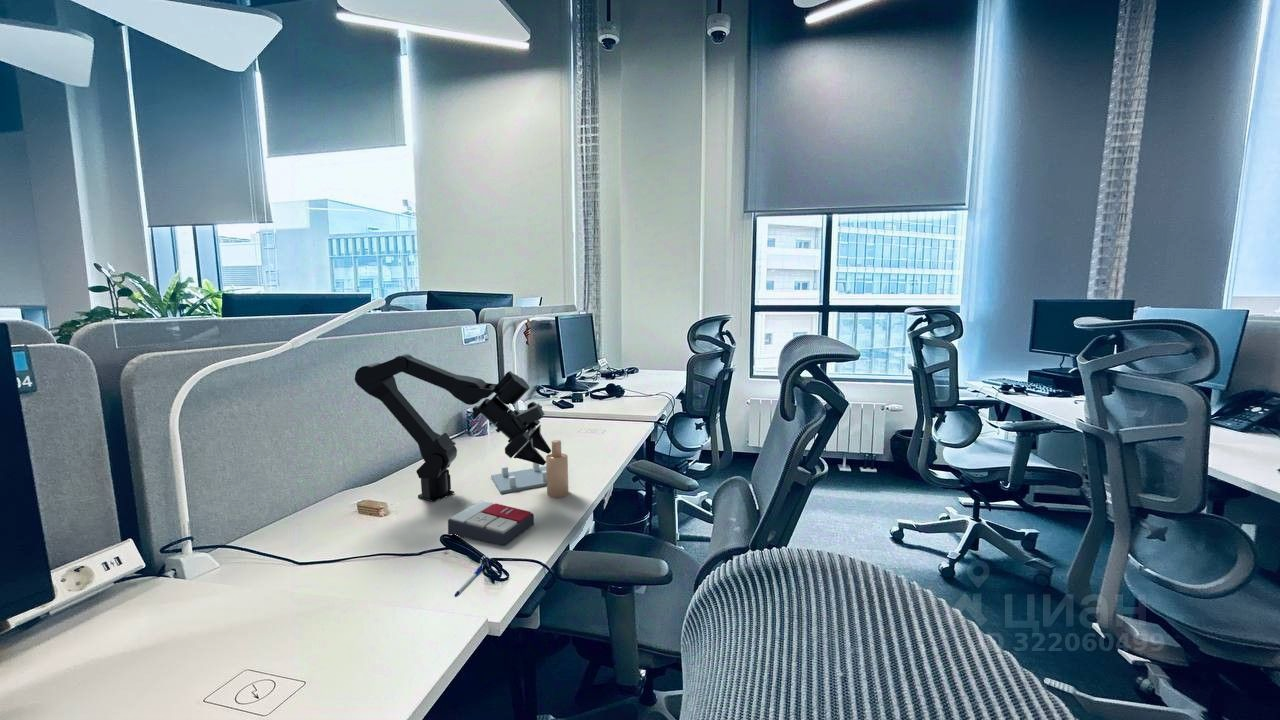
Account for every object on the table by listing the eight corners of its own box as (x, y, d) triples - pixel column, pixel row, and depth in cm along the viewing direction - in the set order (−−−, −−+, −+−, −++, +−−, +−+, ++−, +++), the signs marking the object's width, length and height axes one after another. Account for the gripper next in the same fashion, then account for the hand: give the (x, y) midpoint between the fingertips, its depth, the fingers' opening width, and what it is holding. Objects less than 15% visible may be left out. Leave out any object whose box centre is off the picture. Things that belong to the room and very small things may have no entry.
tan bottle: (559, 499, 126) (558, 445, 124) (542, 495, 128) (540, 442, 127) (572, 491, 130) (571, 440, 129) (556, 488, 133) (554, 437, 131)
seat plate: (500, 493, 129) (500, 481, 129) (491, 478, 141) (490, 466, 140) (559, 483, 137) (559, 471, 136) (546, 468, 148) (545, 458, 148)
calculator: (504, 531, 102) (446, 516, 107) (504, 551, 102) (447, 535, 108) (534, 510, 112) (480, 497, 117) (534, 528, 112) (480, 514, 118)
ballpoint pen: (483, 564, 96) (483, 560, 95) (487, 565, 95) (487, 560, 95) (453, 597, 85) (453, 591, 85) (458, 597, 85) (458, 592, 85)
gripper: (516, 402, 117) (564, 446, 118) (530, 388, 135) (572, 426, 137) (484, 435, 117) (533, 479, 119) (502, 416, 136) (545, 454, 138)
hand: (547, 457), depth 128 cm, fingers open, 9 cm apart
